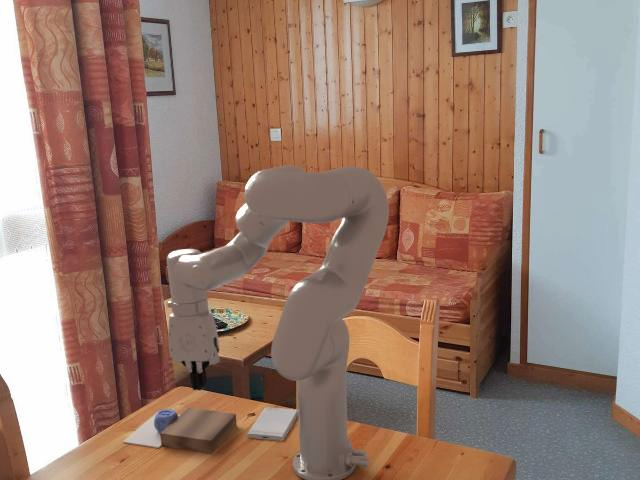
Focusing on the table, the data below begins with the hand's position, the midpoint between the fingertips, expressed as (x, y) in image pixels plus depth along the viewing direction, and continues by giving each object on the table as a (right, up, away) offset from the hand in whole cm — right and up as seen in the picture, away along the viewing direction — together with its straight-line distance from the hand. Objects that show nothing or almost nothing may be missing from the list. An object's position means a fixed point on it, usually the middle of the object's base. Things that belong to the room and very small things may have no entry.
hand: (199, 387), depth 140 cm
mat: (-10, -10, +4) cm, 15 cm away
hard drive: (+16, -10, +4) cm, 19 cm away
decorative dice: (-6, -8, +2) cm, 10 cm away
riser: (0, -11, 0) cm, 11 cm away
